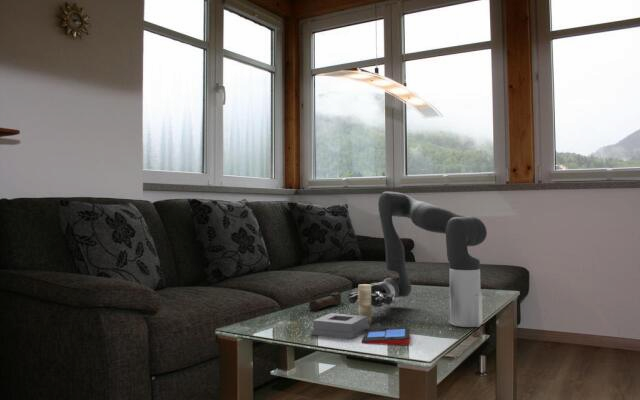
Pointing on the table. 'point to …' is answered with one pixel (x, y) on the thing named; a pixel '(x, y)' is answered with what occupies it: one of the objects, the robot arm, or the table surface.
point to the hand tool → (325, 301)
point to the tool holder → (340, 325)
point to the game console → (387, 336)
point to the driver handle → (365, 301)
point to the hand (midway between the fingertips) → (363, 301)
